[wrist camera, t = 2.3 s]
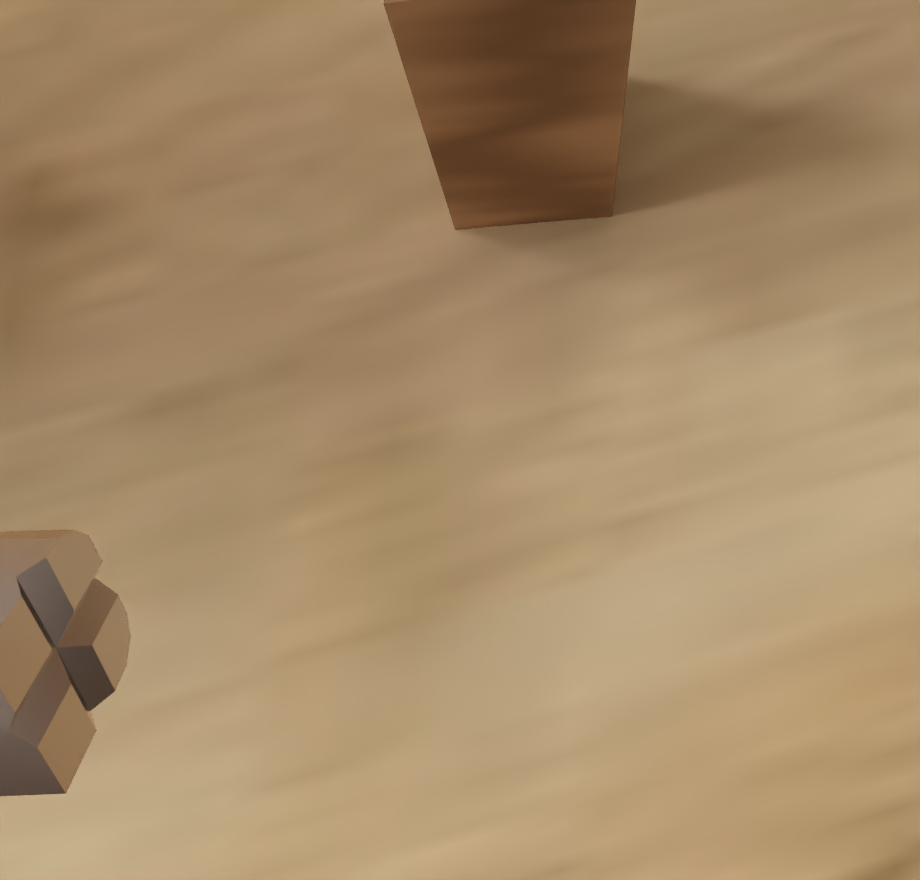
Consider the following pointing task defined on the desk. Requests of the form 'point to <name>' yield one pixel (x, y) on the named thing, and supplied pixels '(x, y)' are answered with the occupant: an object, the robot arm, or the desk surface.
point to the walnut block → (519, 102)
